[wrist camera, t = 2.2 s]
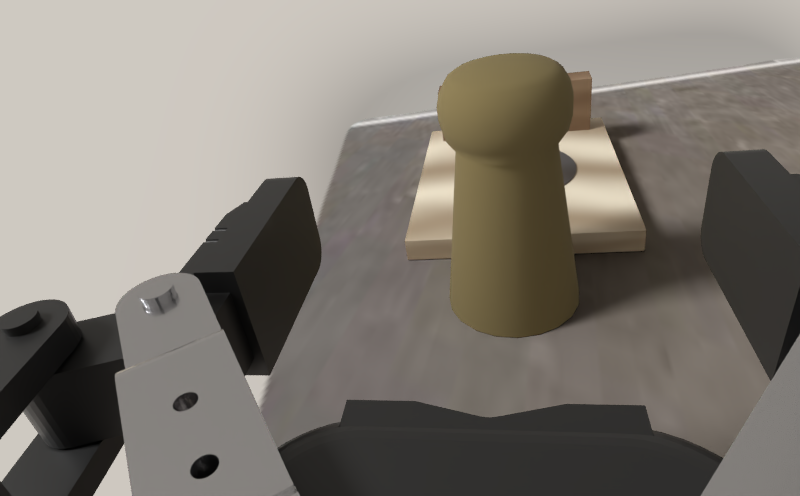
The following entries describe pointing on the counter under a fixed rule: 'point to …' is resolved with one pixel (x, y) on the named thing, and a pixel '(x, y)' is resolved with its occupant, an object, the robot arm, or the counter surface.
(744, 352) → the counter surface
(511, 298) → the cork
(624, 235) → the wooden stand base
